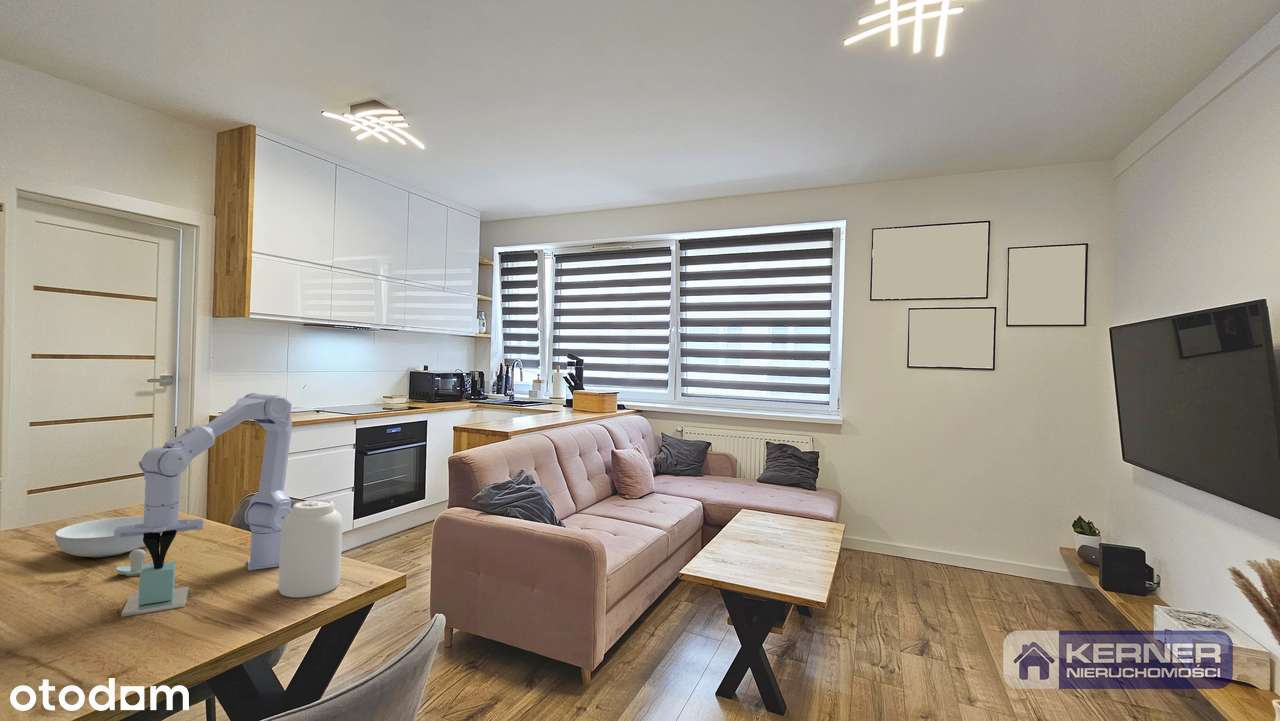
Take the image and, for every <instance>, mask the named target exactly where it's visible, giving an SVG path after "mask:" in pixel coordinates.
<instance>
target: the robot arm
mask: <svg viewBox="0 0 1280 721" xmlns="http://www.w3.org/2000/svg"><path fill="white" fill-rule="evenodd" d="M291 411H292V403H291V402H290V401H289V399H287V398H286V397H285V396H284V395H281V394H274V395H273V394H263V393H261V394H260V393H256V392H255V393H254V392H250V393H247V394H245V395H244V396H243V397H240V398H239V399H238V398H237V400H236V402H235V404H233V405H232V406H230V407H229V408H227V409H226V410H225V411H224V412H223V413H221V414H219V415H218V416H217V417H215V418H214V419H212V420H211V421H210V422H208V423H207V424H205V425H204V426H201V425H195V426H187V428H185V429H184V432H183V433H181V434H180V435H178V436H176V437H175V438H173V439H171V440H167V441H165V442H164V444H163V445H162V447H161V446H157V447H156V446H155V447H152V448H150V449H149V450H147V451H146V452H145V453H144V455H143V456H142V458H141V460H139V461H138V466H139V469H140V470H141V472H143V473H144V474H143V475H144V480H145V484H144V486H145V488H144V501H143V502H144V506H143V507H144V508H143V517H144V523H143V524H136V525H130V526H123V527H116V529H115V531H114V539H117V538H121V537H128V536H138V535H144V537H143V542H144V544H145V547H146V549H147V550H148V552H149V554H150V557H151V560H152V562H153V564H154V569H156V568H163V565H164V563H165V559H166V555H167V553H168V550H169V549H170V546H171V544H172V543H173V541H174V539H175V537H176V536H177V533H178V532H184V531H185V532H186V531H195V530H196V531H202V530H203V529H204V518H198V519H179V513H180V512H179V510H180V488H181V473H183V472H184V471H185V470H186V469H187V468H188V465H189V463H190V462H192V460H194V458H196V457H198V456H199V455H201V454H202V453H204V452H205V451H206V450H208V449H210V448H211V447H213V446H214V445H215V441H216V438H217V437H218V436H221V435H223V434H224V433H225V432H227V431H229V430H230V429H232V428H234V427H236V426H237V425H239V424H241V423H243V422H245V421H249V420H252V421H255V422H256V423H258V424H259V425H260V426H261V427H262V428H263V429H265V431H266V434H265V441H264V442H265V443H264V449H263V457H262V464H261V470H260V477H259V485H258V491H257V492H256V493H254V495H252V497H250V500H249V505H248V507H247V509H246V510H245V513H244V521H245V523H246V524H247V525H249V530H251V531H250V532H251V533H250V554H249V558H248V560H247V571H256V570H263V569H269V568H277V567H279V563H280V542H281V526H282V524H283V521H284V519H285V518H286V517H287V516H288V515H289V514H290V513H292V499H291V497H289V495H287V493H286V492H285V482H286V477H287V476H286V474H287V467H288V461H289V452H290V444H291V437H292V430H293V421H292V417H291Z"/></svg>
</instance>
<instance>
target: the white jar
mask: <svg viewBox="0 0 1280 721" xmlns="http://www.w3.org/2000/svg"><path fill="white" fill-rule="evenodd" d="M335 506H336V505H335V504H334V501H332V500H329V499H309V500H305V501H300V502H297V503H294V504H293V506H292V507H291V509H292V513H290V514H289V515H288V516H287V517H286V518H285V519H284V521H283V524H282V526H281V542H280V563H279V566H278V567H279V570H278V583H277V584H278V589H277V590H278V592H279V593H280V595H282V596H284V597H287V598H309V597H316V596H320V595H323V594H326V593H328V592H331V591H332V590H335V589H336V588H337V587H339V584H340V581H341V565H342V564H341V563H342V544H343V540H342V539H343V520H344V519H343V516H342V514H341V513H340V512H339V511H338V510H336V509H335Z"/></svg>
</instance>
